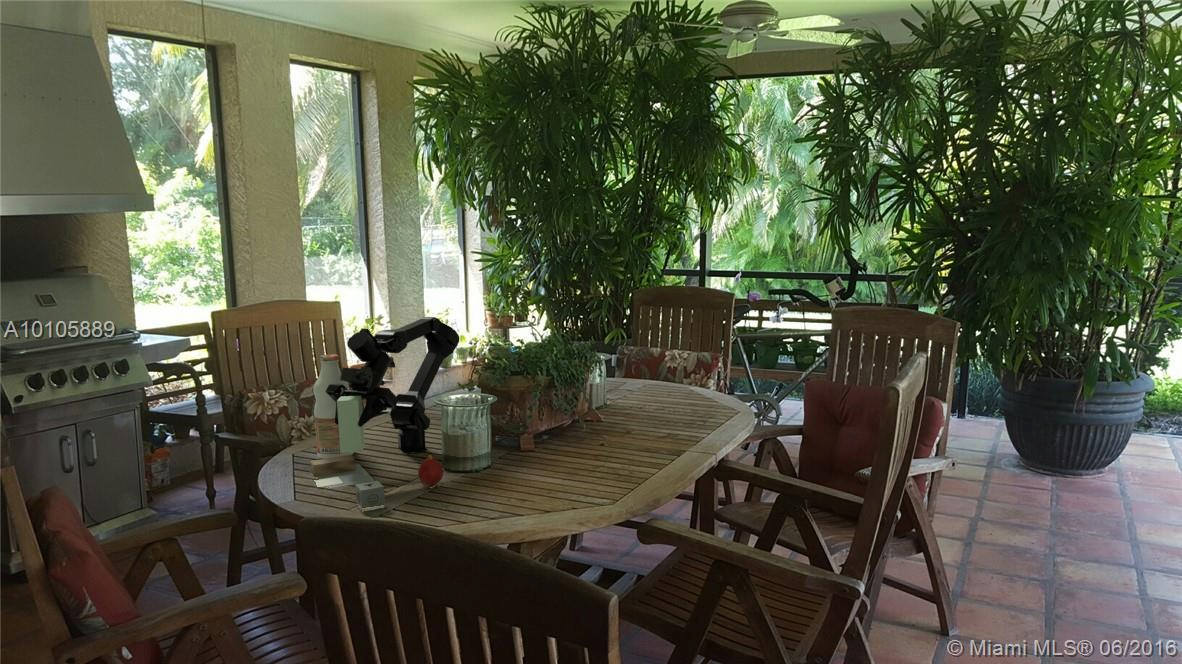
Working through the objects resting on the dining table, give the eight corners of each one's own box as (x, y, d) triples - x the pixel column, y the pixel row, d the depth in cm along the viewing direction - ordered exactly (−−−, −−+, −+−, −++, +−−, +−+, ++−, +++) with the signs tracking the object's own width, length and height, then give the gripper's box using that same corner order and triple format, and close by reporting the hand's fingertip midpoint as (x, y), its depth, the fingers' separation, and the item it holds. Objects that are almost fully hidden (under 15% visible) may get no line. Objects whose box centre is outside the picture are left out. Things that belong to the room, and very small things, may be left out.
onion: (417, 485, 198) (415, 453, 197) (441, 482, 200) (439, 450, 199) (421, 492, 192) (419, 459, 191) (445, 489, 194) (444, 456, 193)
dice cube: (379, 501, 187) (377, 480, 186) (385, 508, 183) (383, 486, 182) (356, 505, 185) (355, 484, 184) (362, 512, 180) (360, 490, 180)
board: (359, 468, 212) (358, 463, 212) (375, 485, 199) (374, 480, 198) (302, 477, 206) (301, 472, 206) (314, 495, 192) (314, 490, 192)
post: (364, 445, 208) (361, 395, 206) (361, 451, 203) (357, 399, 202) (344, 447, 208) (340, 396, 206) (340, 452, 203) (336, 400, 201)
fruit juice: (313, 457, 224) (306, 355, 220) (348, 451, 229) (341, 351, 225) (323, 465, 216) (315, 359, 212) (358, 459, 221) (352, 355, 217)
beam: (351, 466, 210) (351, 454, 210) (355, 470, 207) (354, 458, 207) (311, 472, 206) (310, 461, 205) (314, 477, 202) (313, 465, 202)
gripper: (327, 352, 210) (299, 404, 201) (387, 355, 202) (361, 410, 194) (350, 377, 218) (324, 428, 209) (409, 381, 210) (384, 434, 202)
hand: (347, 424), depth 203 cm, fingers closed on post, 7 cm apart
